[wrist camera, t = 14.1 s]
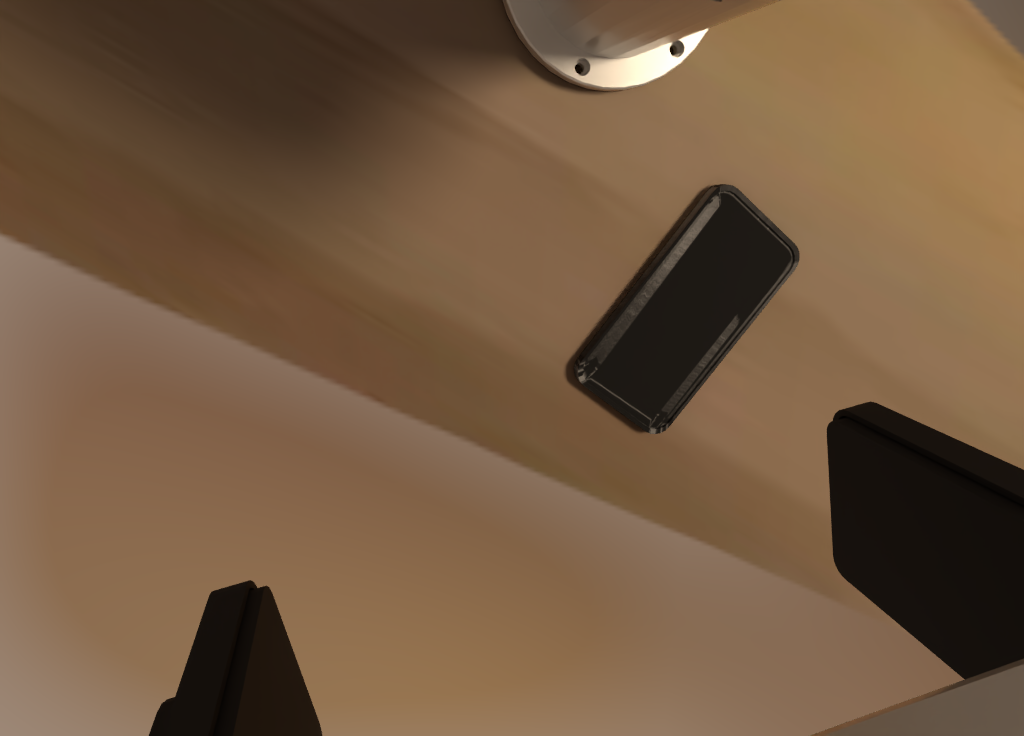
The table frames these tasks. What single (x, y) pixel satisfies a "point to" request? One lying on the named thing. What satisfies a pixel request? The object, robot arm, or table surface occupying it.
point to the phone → (687, 309)
